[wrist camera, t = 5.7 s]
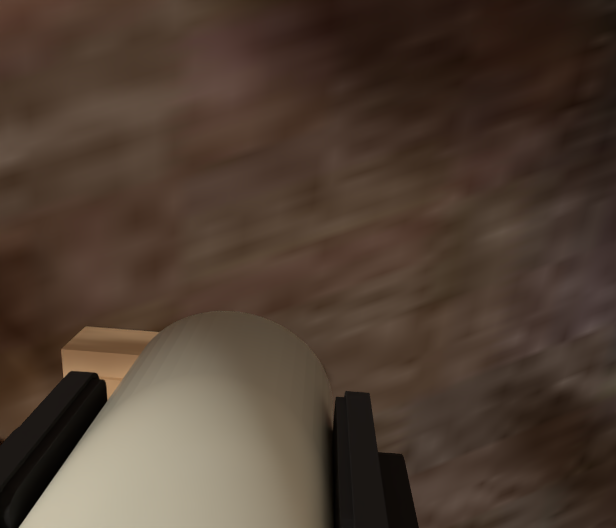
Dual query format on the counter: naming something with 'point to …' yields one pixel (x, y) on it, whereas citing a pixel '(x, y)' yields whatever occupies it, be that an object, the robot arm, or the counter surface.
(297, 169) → the counter surface
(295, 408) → the canister
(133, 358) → the base
